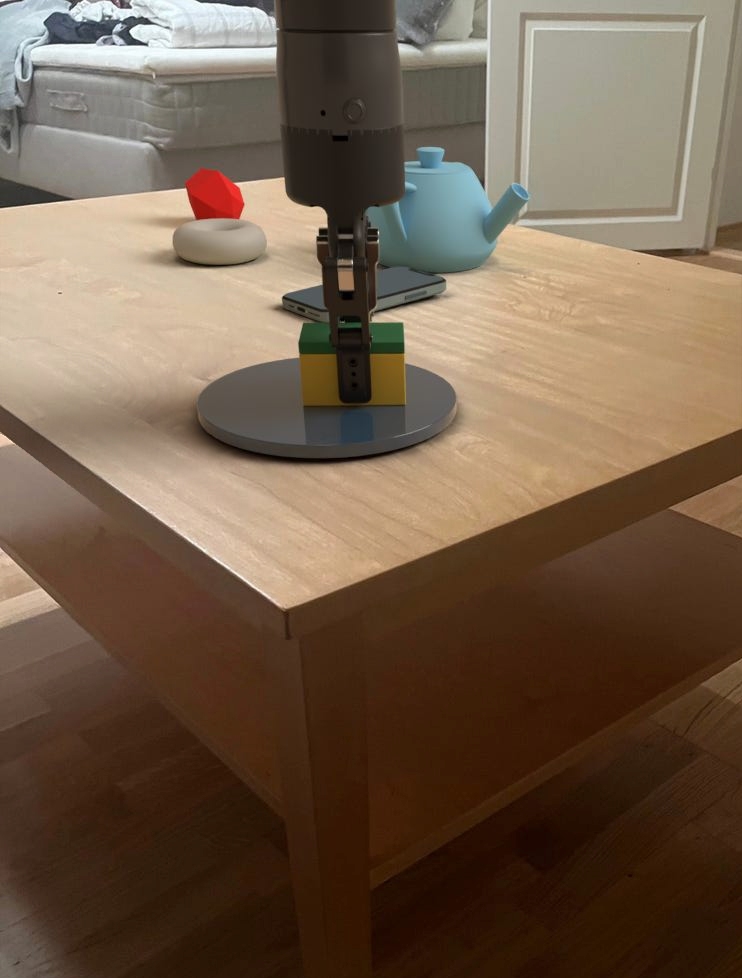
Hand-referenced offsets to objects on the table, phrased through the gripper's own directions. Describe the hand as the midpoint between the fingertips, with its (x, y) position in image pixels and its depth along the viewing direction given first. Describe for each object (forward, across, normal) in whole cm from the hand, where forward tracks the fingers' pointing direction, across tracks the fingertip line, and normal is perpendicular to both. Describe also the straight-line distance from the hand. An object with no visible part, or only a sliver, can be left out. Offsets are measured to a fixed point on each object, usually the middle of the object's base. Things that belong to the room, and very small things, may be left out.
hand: (356, 387), depth 70 cm
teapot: (+2, -46, +7) cm, 46 cm away
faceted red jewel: (+2, -65, -19) cm, 68 cm away
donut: (+2, -47, -16) cm, 50 cm away
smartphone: (+2, -29, 0) cm, 29 cm away
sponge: (+1, 0, 0) cm, 1 cm away
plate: (+2, 0, -2) cm, 3 cm away
